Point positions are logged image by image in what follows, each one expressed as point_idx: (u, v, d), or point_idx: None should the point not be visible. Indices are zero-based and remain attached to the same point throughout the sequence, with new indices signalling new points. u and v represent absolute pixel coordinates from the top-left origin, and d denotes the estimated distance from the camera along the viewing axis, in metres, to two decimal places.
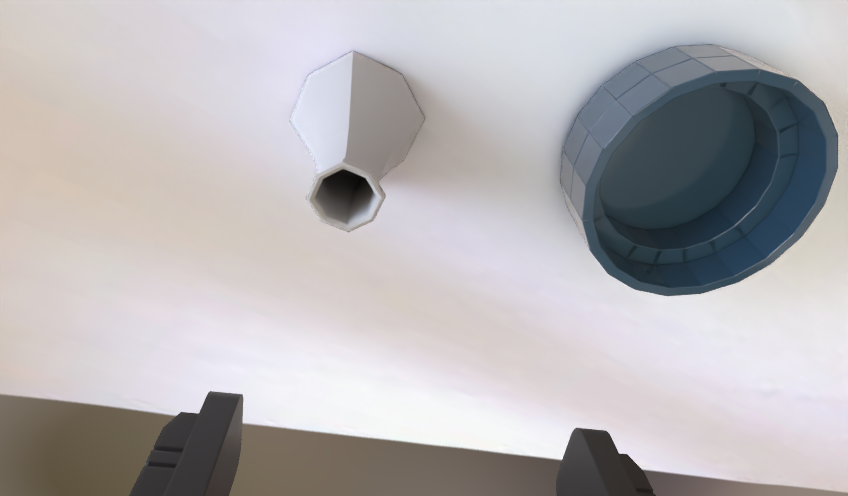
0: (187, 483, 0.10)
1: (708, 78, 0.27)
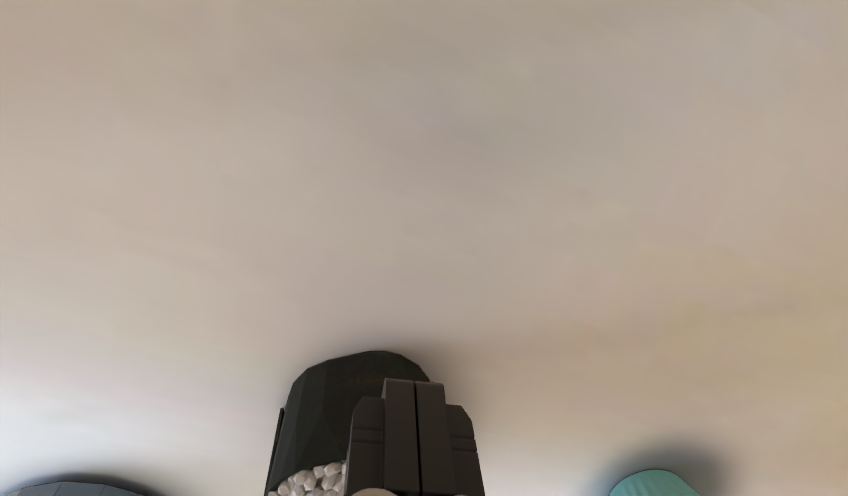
0: (400, 456, 0.12)
1: None
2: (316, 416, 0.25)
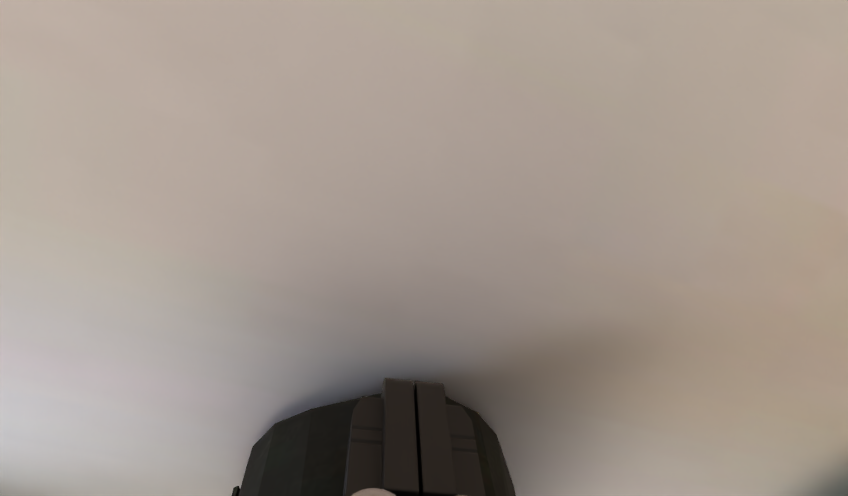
0: (399, 456, 0.12)
1: None
2: None
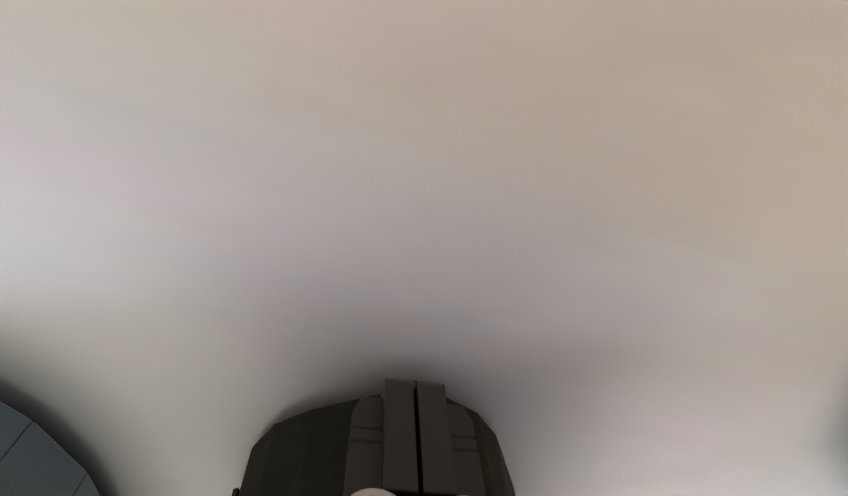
0: (399, 456, 0.12)
1: None
2: None
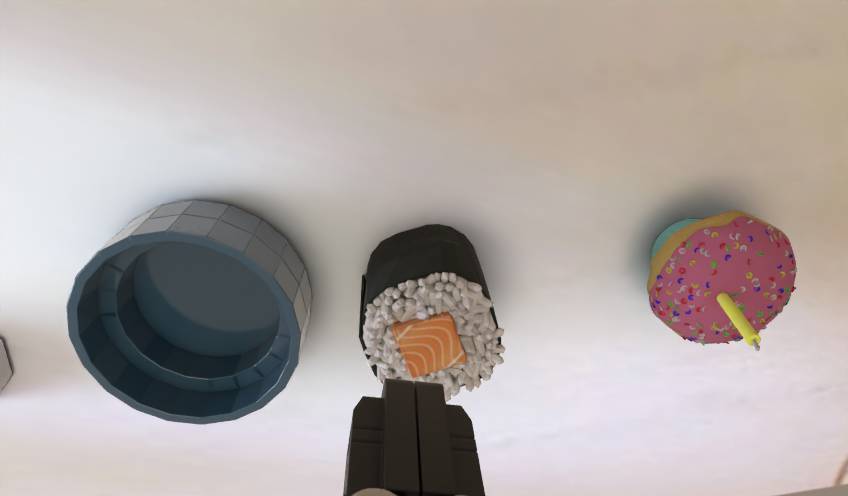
0: (400, 456, 0.12)
1: (97, 258, 0.32)
2: (394, 261, 0.34)
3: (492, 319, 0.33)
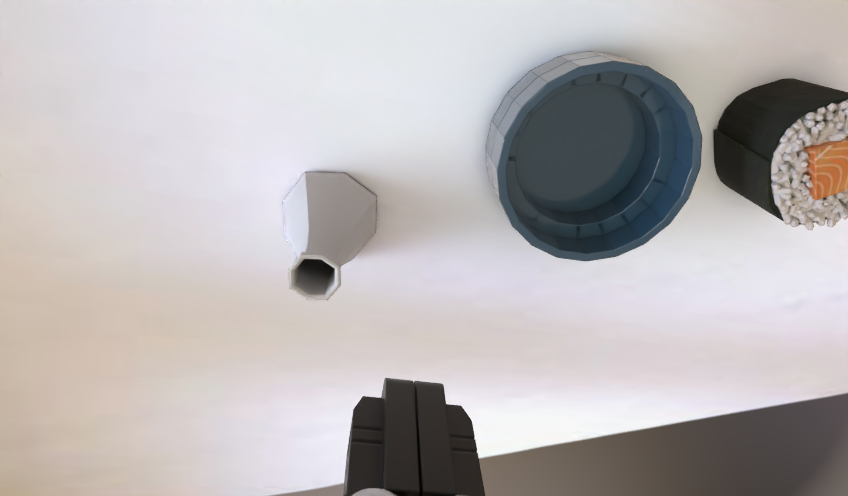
0: (400, 456, 0.12)
1: (545, 89, 0.35)
2: (785, 100, 0.38)
3: None
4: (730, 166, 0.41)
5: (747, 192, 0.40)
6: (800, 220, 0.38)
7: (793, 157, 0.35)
